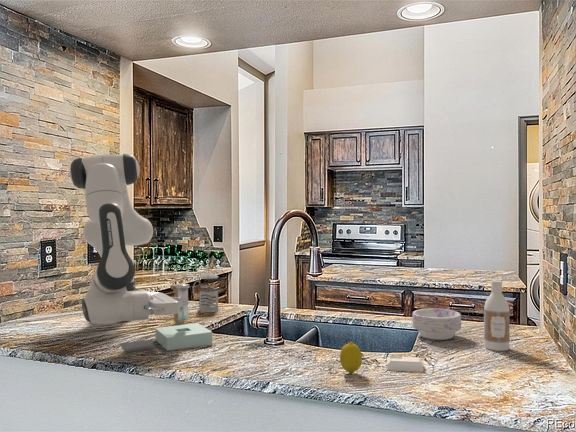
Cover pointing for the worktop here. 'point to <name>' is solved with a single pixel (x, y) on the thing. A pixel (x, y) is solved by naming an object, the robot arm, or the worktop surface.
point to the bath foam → (496, 319)
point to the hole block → (183, 336)
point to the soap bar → (405, 364)
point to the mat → (139, 346)
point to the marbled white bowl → (436, 323)
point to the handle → (177, 322)
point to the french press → (208, 293)
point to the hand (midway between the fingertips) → (185, 301)
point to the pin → (181, 295)
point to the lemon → (350, 357)
